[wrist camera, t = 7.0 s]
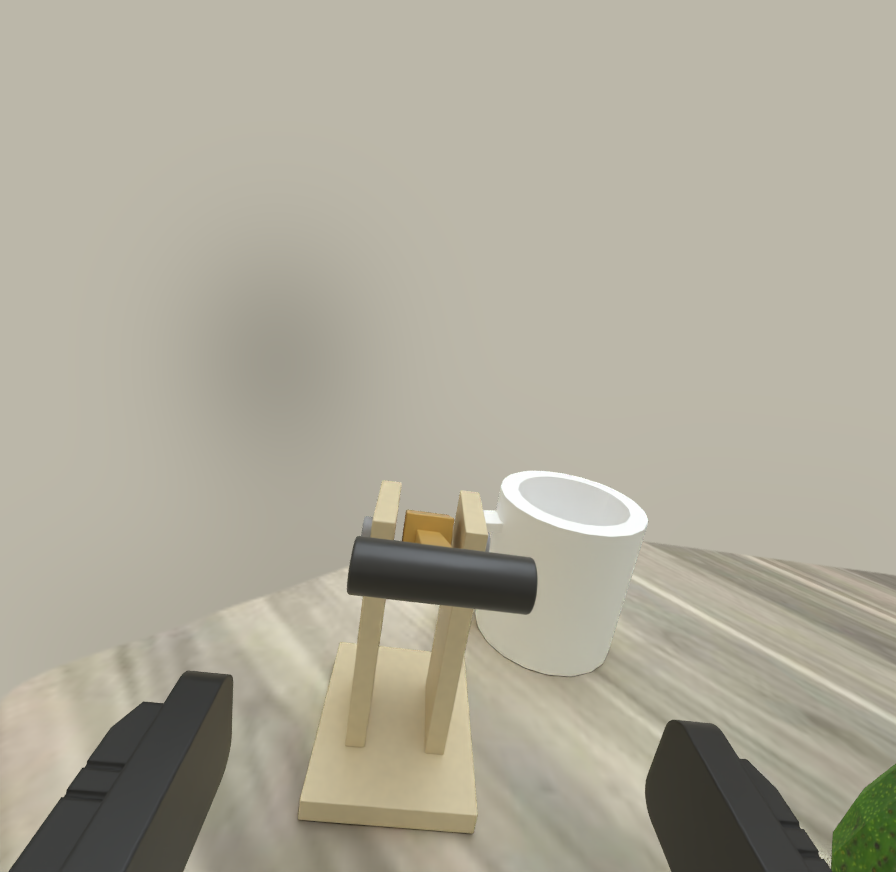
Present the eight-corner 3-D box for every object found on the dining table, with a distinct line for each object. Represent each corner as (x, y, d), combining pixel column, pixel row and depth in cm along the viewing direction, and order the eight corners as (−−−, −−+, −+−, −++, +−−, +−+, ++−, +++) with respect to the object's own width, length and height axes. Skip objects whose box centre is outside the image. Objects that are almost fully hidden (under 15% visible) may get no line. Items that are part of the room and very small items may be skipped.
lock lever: (532, 638, 13) (542, 546, 13) (341, 616, 13) (355, 522, 13) (470, 566, 25) (476, 518, 25) (371, 554, 25) (378, 505, 25)
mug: (450, 683, 31) (480, 533, 28) (421, 585, 40) (441, 464, 37) (636, 672, 35) (681, 538, 31) (570, 584, 44) (599, 474, 41)
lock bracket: (473, 834, 23) (536, 576, 19) (297, 820, 22) (322, 550, 18) (461, 669, 32) (501, 475, 28) (338, 656, 32) (360, 456, 28)
